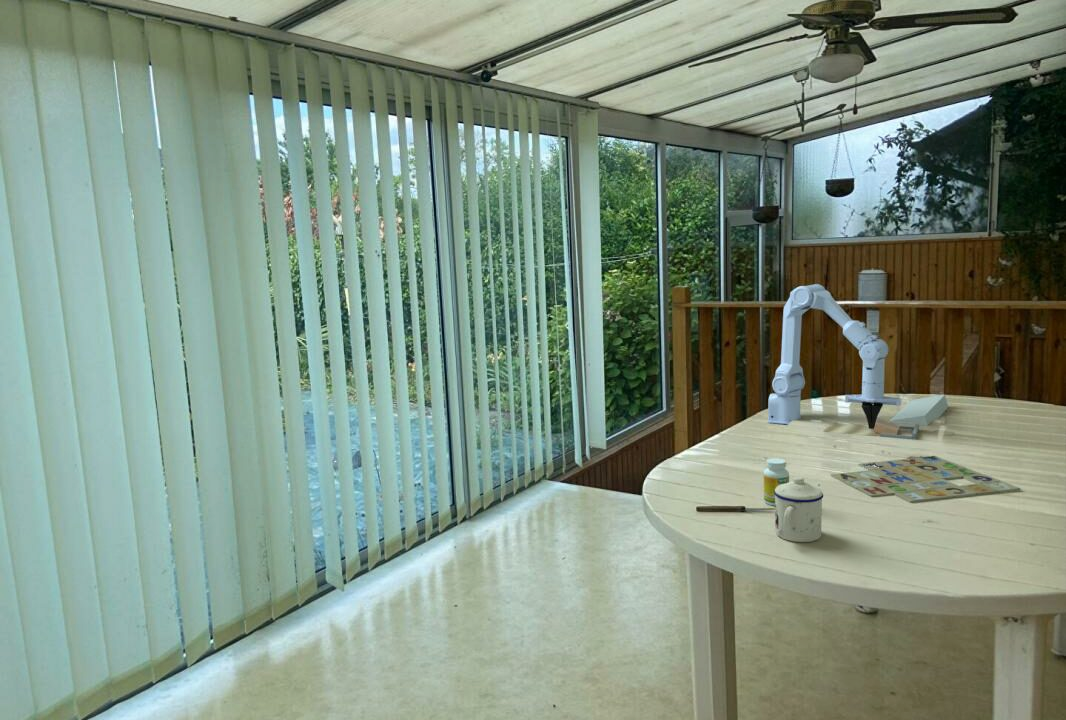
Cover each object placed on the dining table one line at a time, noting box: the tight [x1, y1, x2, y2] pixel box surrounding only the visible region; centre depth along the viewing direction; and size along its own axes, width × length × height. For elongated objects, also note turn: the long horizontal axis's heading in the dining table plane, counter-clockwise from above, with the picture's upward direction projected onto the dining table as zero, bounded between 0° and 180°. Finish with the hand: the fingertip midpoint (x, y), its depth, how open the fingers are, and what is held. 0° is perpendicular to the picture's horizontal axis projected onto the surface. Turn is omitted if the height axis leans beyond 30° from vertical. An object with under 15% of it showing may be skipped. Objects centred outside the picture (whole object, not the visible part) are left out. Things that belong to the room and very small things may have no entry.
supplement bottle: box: [763, 457, 790, 507], centre depth 165 cm, size 5×5×10 cm
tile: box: [873, 417, 901, 435], centre depth 214 cm, size 6×6×2 cm
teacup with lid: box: [774, 476, 824, 543], centre depth 145 cm, size 12×9×12 cm
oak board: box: [823, 422, 880, 437], centre depth 218 cm, size 15×12×2 cm
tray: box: [879, 424, 920, 441], centre depth 212 cm, size 9×12×3 cm
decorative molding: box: [888, 394, 949, 427], centre depth 235 cm, size 34×5×10 cm
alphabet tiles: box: [830, 455, 1021, 504], centre depth 177 cm, size 33×28×1 cm
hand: (871, 428), depth 216 cm, fingers closed
